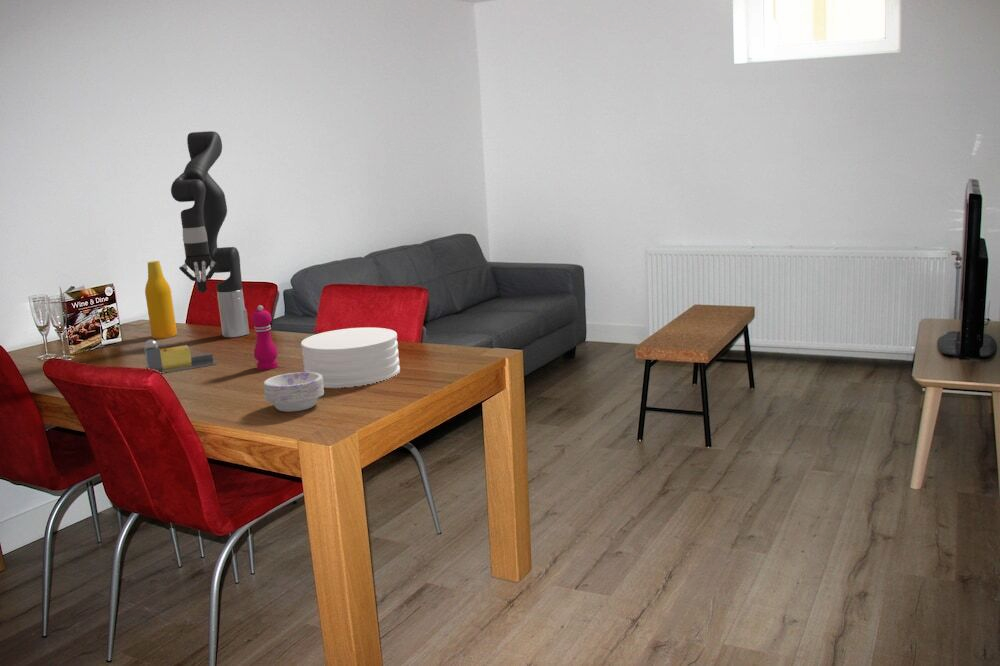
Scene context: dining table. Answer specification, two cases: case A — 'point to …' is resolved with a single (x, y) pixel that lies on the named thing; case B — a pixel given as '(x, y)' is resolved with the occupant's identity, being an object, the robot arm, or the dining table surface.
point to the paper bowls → (294, 390)
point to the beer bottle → (159, 303)
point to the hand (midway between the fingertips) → (202, 292)
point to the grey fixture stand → (155, 363)
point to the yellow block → (175, 357)
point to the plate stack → (352, 356)
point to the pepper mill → (264, 340)
